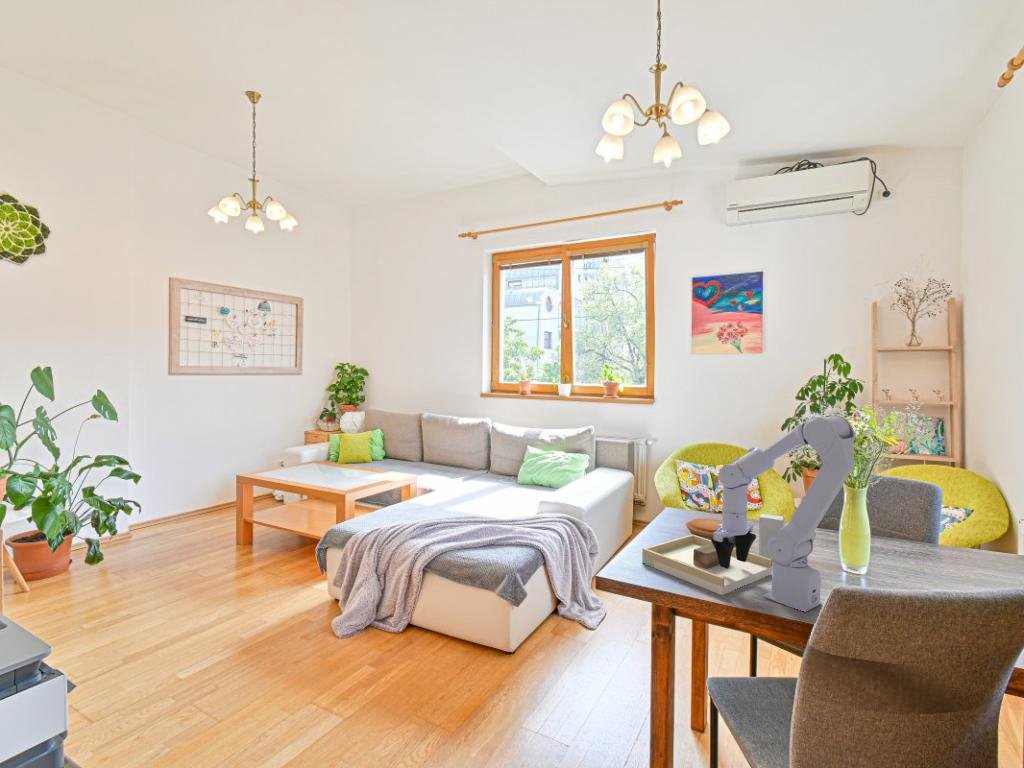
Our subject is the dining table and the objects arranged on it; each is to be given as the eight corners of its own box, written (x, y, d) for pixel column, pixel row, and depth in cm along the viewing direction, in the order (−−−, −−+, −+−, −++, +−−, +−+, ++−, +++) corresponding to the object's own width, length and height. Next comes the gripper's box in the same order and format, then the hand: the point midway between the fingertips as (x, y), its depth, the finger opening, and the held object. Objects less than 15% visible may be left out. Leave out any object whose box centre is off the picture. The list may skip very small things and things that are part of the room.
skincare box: (783, 558, 146) (784, 516, 145) (782, 563, 142) (783, 520, 142) (759, 554, 149) (760, 513, 148) (758, 559, 145) (759, 516, 145)
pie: (731, 550, 152) (731, 533, 152) (678, 539, 162) (679, 523, 161) (743, 537, 164) (744, 521, 164) (694, 527, 174) (695, 512, 174)
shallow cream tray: (771, 574, 134) (771, 559, 134) (721, 595, 122) (722, 578, 121) (691, 547, 154) (692, 534, 154) (642, 563, 141) (642, 548, 141)
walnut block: (727, 561, 137) (727, 547, 137) (706, 569, 132) (707, 553, 132) (713, 557, 141) (713, 542, 141) (693, 564, 135) (693, 549, 135)
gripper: (736, 503, 138) (734, 553, 139) (703, 511, 130) (701, 564, 130) (761, 509, 132) (760, 561, 133) (729, 518, 124) (727, 574, 124)
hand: (733, 563), depth 131 cm, fingers open, 7 cm apart
